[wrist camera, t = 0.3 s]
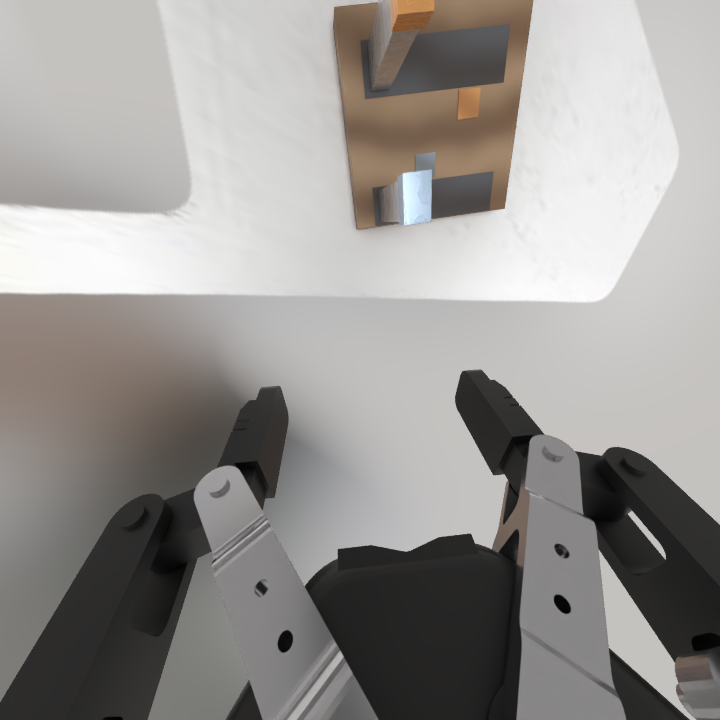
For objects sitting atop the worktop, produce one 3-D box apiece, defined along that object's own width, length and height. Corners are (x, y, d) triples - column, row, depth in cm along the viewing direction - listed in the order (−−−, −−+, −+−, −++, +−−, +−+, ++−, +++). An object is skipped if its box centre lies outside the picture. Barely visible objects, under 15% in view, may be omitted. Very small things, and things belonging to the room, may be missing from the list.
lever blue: (376, 189, 28) (402, 173, 19) (395, 186, 28) (431, 169, 19) (379, 223, 30) (404, 225, 20) (397, 221, 30) (431, 221, 20)
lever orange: (365, 41, 23) (394, -87, 13) (389, 39, 23) (435, -90, 13) (369, 94, 24) (397, 14, 15) (391, 91, 24) (434, 10, 15)
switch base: (333, 26, 24) (334, 5, 21) (516, 7, 25) (536, -15, 22) (356, 228, 32) (359, 229, 30) (492, 209, 33) (505, 208, 31)
